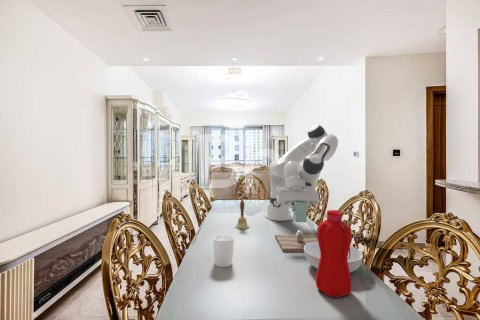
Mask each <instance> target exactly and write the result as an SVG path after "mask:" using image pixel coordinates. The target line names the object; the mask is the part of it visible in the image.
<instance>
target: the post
mask: <svg viewBox="0 0 480 320" xmlns="http://www.w3.org/2000/svg"><path fill="white" fill-rule="evenodd" d="M295 235H296V241H297V242H303V235H304V234H303V231H302V230H301V229H297V231H296V233H295Z"/></svg>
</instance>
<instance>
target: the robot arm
mask: <svg viewBox="0 0 480 320" xmlns="http://www.w3.org/2000/svg"><path fill="white" fill-rule="evenodd" d="M307 131H308V132H307V135H308V137H307V138H305V139H303V140H301V141H299V142H298V143H296V145H294V146H292V148H291V149H289V150H288V151H287V152H285V154H283V156H282V157H280V158H279V159H278V160H272V162H270V164H269V166H268V172H269V183H270V185H269V186H270V197H269V204H268V205H267V210H266V212H267V213H266V215H265V216H264V218H265V219H268V220H271V221H280V222H282V221H294V220H293V213H291V212H293V211H295V207H293V205H294V201H304V202H306V203H307V212H309V210H310V209H309V207H310V205H318V203H319V201H320V197H319V194H318V192H317V190H316V188H314V186H315V185H316V184H317V182H318V180H319V177H320V175H321V173H322V170H323V168H324V166H325V162H327V161H329V160H330V159H331V158H332V157H333V156H334V154H335V153H336V151H337V149H338V145H339V139H338V138H337V136H336V135H334V134H328V132H326V130H325V128H324V127H323V126H322V125H321V124H320V125H319V124H316V125H314V126H311V127H310V129H308V130H307ZM301 162H302V165H300V163H301Z"/></svg>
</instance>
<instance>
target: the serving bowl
mask: <svg viewBox="0 0 480 320" xmlns="http://www.w3.org/2000/svg"><path fill="white" fill-rule="evenodd" d="M303 253H304V257H305V259H306V261H307V262H308V264H310V265H311V266H312V267H314V268H315V269H318V265H319V261H320V248H319V243H318V241H316V242H311V243H308V244H306V245H305V246H304V252H303ZM348 258H349V253H348ZM363 260H364V254H363V252H362V251H360V250H359V249H358V248H356V247H354V246H352V245H350V258H349V259H347V261H348V266H349V271H350V274H351V273H354V272H355V271H357V270H358V269H359V267H361V265H362V263H363Z"/></svg>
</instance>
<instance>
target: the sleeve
mask: <svg viewBox="0 0 480 320" xmlns="http://www.w3.org/2000/svg"><path fill="white" fill-rule="evenodd" d="M292 206H293V207H295V211H292V212H293V213H292V214H293V220H292V221H294V222H295V223H307V221H308V219H307V217H308V215H307V214H308V211H307V203H306V202H304V201H294V204H292Z"/></svg>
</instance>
